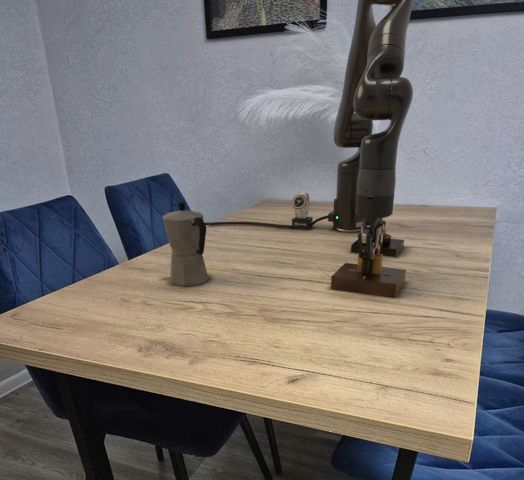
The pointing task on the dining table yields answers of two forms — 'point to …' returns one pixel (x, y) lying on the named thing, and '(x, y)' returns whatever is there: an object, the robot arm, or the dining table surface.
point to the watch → (301, 211)
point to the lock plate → (368, 281)
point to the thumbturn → (376, 264)
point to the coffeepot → (186, 246)
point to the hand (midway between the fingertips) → (369, 272)
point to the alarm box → (384, 246)
